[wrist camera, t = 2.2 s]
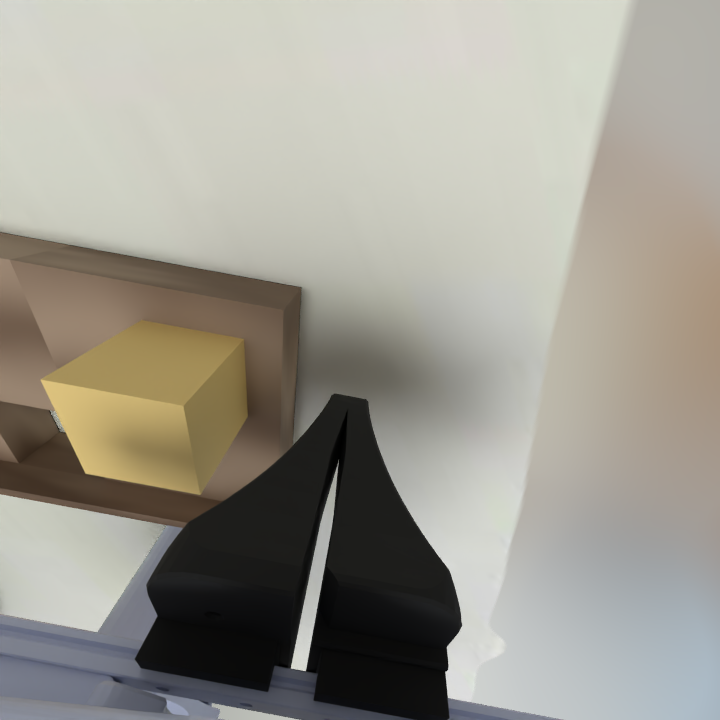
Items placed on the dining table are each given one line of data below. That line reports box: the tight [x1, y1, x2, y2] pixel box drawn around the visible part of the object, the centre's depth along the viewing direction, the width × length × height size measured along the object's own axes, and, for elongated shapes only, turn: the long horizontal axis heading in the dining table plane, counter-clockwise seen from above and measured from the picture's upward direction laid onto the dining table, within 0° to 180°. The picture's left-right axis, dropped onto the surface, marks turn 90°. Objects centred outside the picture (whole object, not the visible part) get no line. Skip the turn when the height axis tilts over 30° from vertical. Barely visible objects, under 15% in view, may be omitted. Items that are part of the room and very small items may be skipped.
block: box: [40, 320, 248, 495], centre depth 11 cm, size 4×4×4 cm
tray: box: [0, 233, 301, 528], centre depth 15 cm, size 13×27×4 cm, turn 81°
